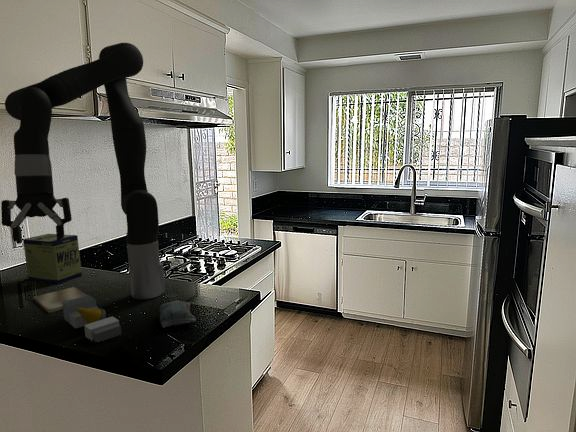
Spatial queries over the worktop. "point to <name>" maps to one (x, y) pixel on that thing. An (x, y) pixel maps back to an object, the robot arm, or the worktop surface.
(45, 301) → the birch board
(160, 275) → the robot arm
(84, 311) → the yellow tapered piece
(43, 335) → the worktop surface
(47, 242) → the protein box
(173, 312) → the packaged food
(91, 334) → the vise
